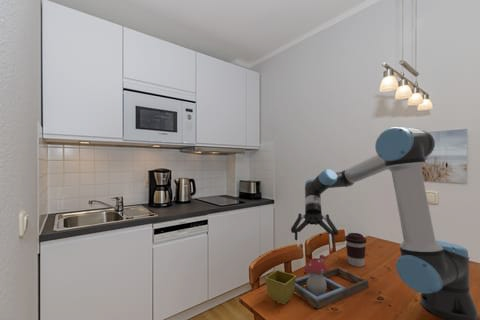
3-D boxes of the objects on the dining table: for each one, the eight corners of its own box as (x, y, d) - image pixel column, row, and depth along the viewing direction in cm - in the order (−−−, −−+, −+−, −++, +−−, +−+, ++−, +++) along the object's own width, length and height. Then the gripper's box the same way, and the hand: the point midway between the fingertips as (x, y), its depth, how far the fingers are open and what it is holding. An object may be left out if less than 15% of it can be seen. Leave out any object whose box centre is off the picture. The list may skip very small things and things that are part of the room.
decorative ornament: (325, 289, 98) (324, 252, 98) (331, 298, 91) (330, 259, 92) (303, 289, 98) (302, 253, 99) (306, 298, 92) (305, 259, 92)
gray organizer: (368, 287, 98) (368, 280, 99) (317, 309, 85) (317, 300, 85) (338, 273, 112) (337, 267, 112) (289, 289, 98) (289, 282, 98)
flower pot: (277, 291, 97) (276, 269, 97) (297, 298, 92) (296, 275, 92) (265, 301, 90) (265, 277, 91) (286, 310, 85) (285, 284, 85)
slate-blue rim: (345, 289, 92) (345, 288, 92) (317, 301, 85) (317, 299, 85) (316, 273, 105) (316, 272, 105) (289, 282, 98) (289, 281, 98)
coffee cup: (371, 268, 117) (370, 237, 117) (350, 268, 117) (349, 237, 117) (361, 259, 127) (360, 231, 127) (342, 260, 127) (341, 231, 127)
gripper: (340, 212, 116) (345, 254, 101) (288, 210, 123) (285, 249, 108) (341, 202, 111) (346, 246, 96) (286, 201, 118) (284, 241, 103)
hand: (314, 248), depth 102 cm, fingers open, 13 cm apart
